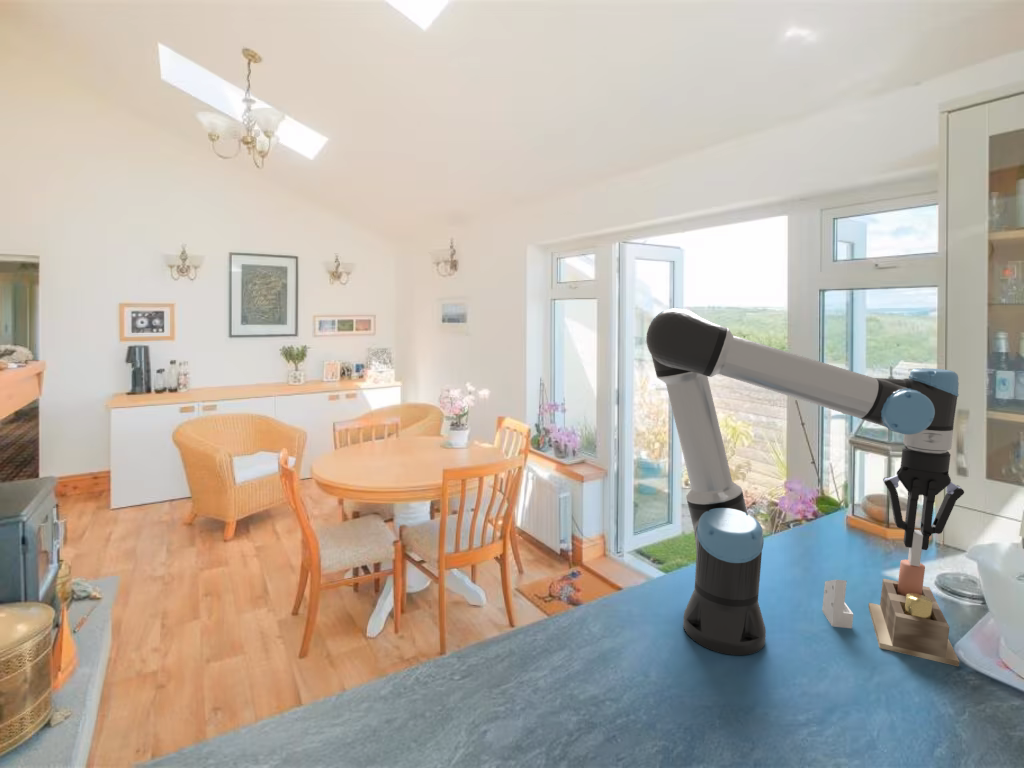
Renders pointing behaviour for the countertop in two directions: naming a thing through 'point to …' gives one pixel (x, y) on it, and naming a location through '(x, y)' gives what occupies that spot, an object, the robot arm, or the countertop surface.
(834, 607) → the white wedge bracket
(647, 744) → the countertop surface
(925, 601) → the brass plug
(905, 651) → the socket block
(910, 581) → the red plug
